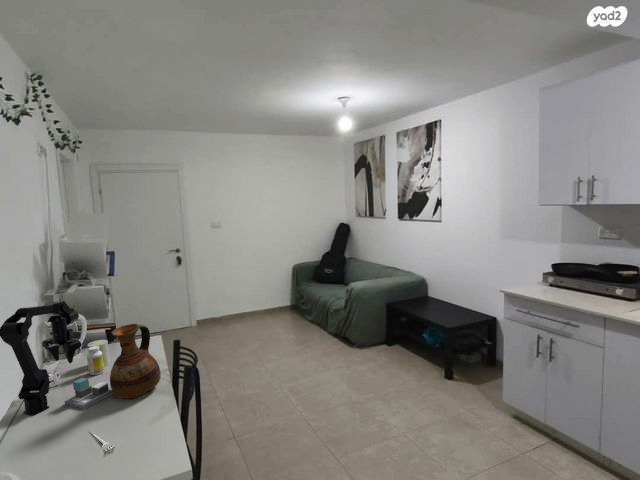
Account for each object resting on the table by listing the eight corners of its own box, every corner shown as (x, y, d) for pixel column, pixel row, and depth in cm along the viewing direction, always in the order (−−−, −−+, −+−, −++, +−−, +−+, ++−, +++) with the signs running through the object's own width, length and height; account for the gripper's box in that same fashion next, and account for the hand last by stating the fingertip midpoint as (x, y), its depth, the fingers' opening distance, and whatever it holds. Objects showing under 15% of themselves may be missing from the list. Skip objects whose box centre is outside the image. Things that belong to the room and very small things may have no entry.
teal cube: (80, 391, 160) (79, 383, 159) (73, 389, 161) (72, 381, 161) (89, 386, 163) (88, 378, 163) (82, 385, 165) (81, 377, 164)
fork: (94, 430, 141) (93, 426, 141) (118, 450, 128) (117, 444, 128) (84, 435, 138) (84, 430, 138) (107, 455, 126) (107, 450, 125)
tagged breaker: (82, 398, 160) (81, 390, 160) (75, 396, 162) (74, 389, 162) (92, 393, 164) (91, 385, 164) (85, 391, 166) (84, 384, 166)
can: (91, 362, 202) (88, 341, 201) (110, 359, 206) (108, 337, 204) (88, 369, 194) (86, 346, 192) (109, 365, 197) (106, 343, 196)
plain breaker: (99, 395, 162) (98, 388, 161) (92, 394, 163) (91, 386, 163) (108, 390, 166) (107, 383, 166) (102, 389, 167) (101, 381, 167)
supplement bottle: (107, 369, 192) (104, 345, 191) (98, 375, 186) (95, 350, 184) (95, 369, 193) (92, 345, 192) (85, 375, 186) (82, 350, 185)
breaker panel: (84, 409, 155) (84, 404, 155) (64, 404, 160) (64, 399, 159) (112, 393, 167) (112, 388, 167) (93, 389, 172) (93, 385, 171)
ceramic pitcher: (100, 399, 162) (92, 331, 159) (136, 377, 181) (129, 316, 178) (138, 404, 156) (130, 334, 153) (171, 381, 175) (164, 318, 172)
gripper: (90, 324, 176) (94, 357, 178) (63, 321, 183) (67, 352, 185) (66, 332, 166) (71, 367, 168) (39, 329, 173) (43, 362, 175)
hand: (64, 361), depth 174 cm, fingers open, 9 cm apart
